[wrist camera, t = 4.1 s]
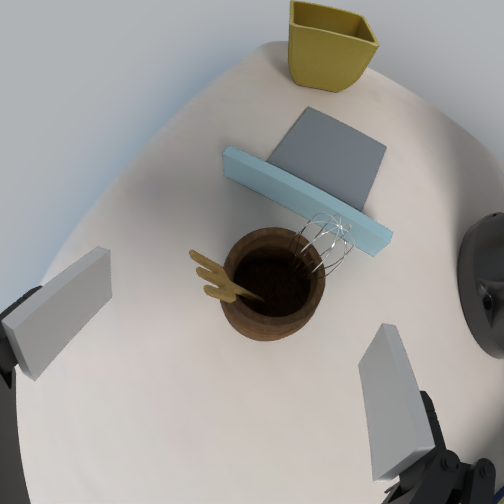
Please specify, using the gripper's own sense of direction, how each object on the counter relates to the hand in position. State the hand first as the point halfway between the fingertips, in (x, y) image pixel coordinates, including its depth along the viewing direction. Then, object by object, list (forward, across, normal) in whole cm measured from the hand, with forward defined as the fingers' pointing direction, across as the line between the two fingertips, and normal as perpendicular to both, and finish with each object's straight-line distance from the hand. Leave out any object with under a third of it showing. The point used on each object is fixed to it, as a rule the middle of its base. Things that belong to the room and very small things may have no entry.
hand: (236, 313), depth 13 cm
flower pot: (+26, +1, +15) cm, 30 cm away
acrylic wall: (+12, +2, +2) cm, 13 cm away
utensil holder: (+7, +1, -4) cm, 8 cm away
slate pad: (+17, +4, +7) cm, 19 cm away
